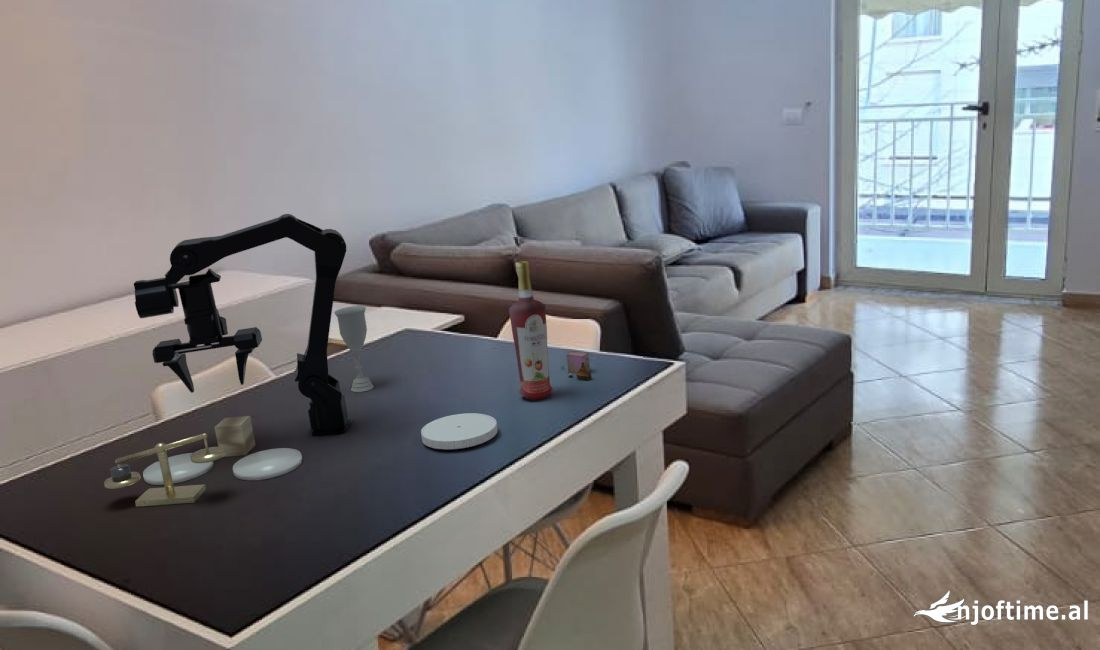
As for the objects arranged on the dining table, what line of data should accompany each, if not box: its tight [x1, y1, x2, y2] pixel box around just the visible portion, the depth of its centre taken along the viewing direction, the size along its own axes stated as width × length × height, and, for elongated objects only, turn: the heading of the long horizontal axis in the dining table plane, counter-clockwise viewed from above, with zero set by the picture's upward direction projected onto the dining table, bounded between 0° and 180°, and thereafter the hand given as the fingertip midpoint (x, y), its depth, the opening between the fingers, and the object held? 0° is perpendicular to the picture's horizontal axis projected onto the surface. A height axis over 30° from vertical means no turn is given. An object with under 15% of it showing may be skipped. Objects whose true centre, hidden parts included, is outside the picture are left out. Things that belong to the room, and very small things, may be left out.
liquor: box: [508, 260, 554, 401], centre depth 186 cm, size 7×7×28 cm
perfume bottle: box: [566, 350, 592, 381], centre depth 201 cm, size 12×12×4 cm
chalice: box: [333, 305, 374, 393], centre depth 205 cm, size 7×7×18 cm
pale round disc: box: [142, 452, 215, 486], centre depth 169 cm, size 12×12×1 cm
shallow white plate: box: [232, 447, 303, 482], centre depth 167 cm, size 12×12×1 cm
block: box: [214, 415, 256, 458], centre depth 176 cm, size 5×5×6 cm
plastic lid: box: [420, 412, 498, 450], centre depth 171 cm, size 14×14×2 cm
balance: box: [103, 433, 226, 507], centre depth 156 cm, size 21×6×11 cm, turn 87°
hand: (217, 388), depth 175 cm, fingers open, 9 cm apart
